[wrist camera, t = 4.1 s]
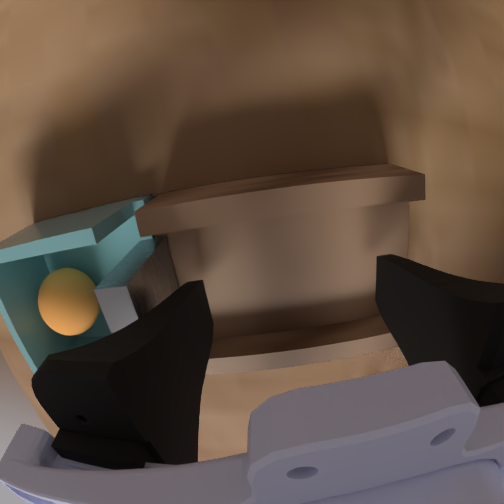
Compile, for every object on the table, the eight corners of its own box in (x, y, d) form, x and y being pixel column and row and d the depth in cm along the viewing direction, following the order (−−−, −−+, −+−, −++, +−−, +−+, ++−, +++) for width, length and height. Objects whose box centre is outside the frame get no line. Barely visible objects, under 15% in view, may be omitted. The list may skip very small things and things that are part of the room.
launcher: (389, 163, 13) (424, 174, 10) (387, 306, 16) (411, 343, 13) (160, 193, 14) (133, 212, 11) (196, 333, 17) (185, 375, 14)
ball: (93, 266, 13) (28, 294, 11) (117, 329, 14) (58, 357, 12) (80, 252, 15) (27, 274, 13) (100, 306, 16) (51, 329, 14)
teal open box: (151, 194, 14) (105, 224, 9) (189, 334, 17) (170, 398, 12) (33, 223, 14) (-23, 255, 10) (77, 339, 17) (43, 388, 13)
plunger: (165, 236, 12) (126, 286, 8) (192, 334, 14) (174, 403, 10) (140, 240, 12) (94, 289, 8) (169, 336, 14) (146, 402, 10)
